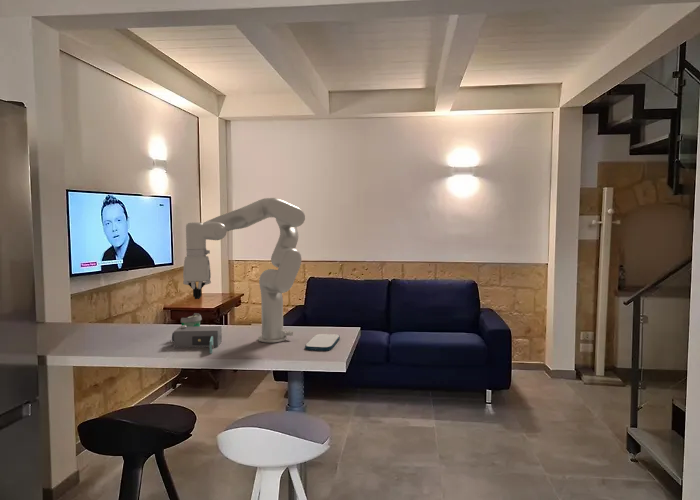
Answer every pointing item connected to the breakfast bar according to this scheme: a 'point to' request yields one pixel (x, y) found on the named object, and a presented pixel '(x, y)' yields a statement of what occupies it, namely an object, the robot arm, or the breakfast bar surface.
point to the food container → (192, 320)
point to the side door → (211, 344)
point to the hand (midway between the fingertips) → (197, 298)
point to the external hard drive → (322, 342)
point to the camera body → (196, 336)
